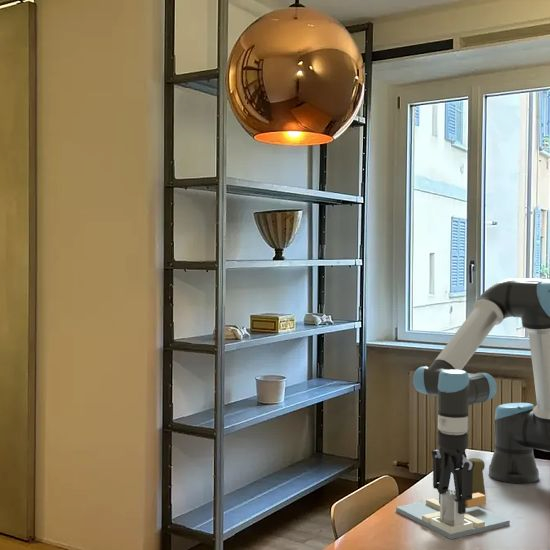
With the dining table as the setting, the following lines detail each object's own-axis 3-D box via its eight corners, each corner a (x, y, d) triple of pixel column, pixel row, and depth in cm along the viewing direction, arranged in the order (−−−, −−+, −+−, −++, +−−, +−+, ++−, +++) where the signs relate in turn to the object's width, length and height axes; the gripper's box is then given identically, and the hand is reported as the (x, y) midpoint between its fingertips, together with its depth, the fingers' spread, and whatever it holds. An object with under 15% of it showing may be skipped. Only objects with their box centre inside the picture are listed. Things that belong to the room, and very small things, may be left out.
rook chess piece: (450, 527, 182) (450, 495, 182) (439, 521, 187) (439, 490, 186) (464, 524, 184) (464, 493, 184) (453, 518, 188) (453, 488, 188)
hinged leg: (453, 512, 191) (453, 503, 191) (442, 507, 194) (442, 498, 194) (487, 505, 196) (488, 496, 196) (476, 500, 200) (476, 491, 200)
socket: (452, 519, 190) (452, 513, 190) (473, 528, 184) (473, 522, 184) (431, 524, 187) (431, 518, 187) (450, 534, 180) (450, 528, 180)
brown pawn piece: (486, 500, 208) (487, 462, 208) (464, 498, 210) (465, 461, 209) (484, 493, 214) (485, 456, 214) (463, 491, 215) (464, 455, 215)
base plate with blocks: (451, 499, 209) (451, 487, 209) (509, 524, 190) (509, 511, 190) (396, 511, 200) (396, 498, 199) (451, 539, 180) (451, 525, 180)
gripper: (418, 425, 191) (418, 513, 191) (465, 441, 175) (464, 536, 176) (441, 422, 194) (440, 508, 195) (488, 437, 179) (487, 530, 179)
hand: (451, 521), depth 185 cm, fingers closed on rook chess piece, 4 cm apart
